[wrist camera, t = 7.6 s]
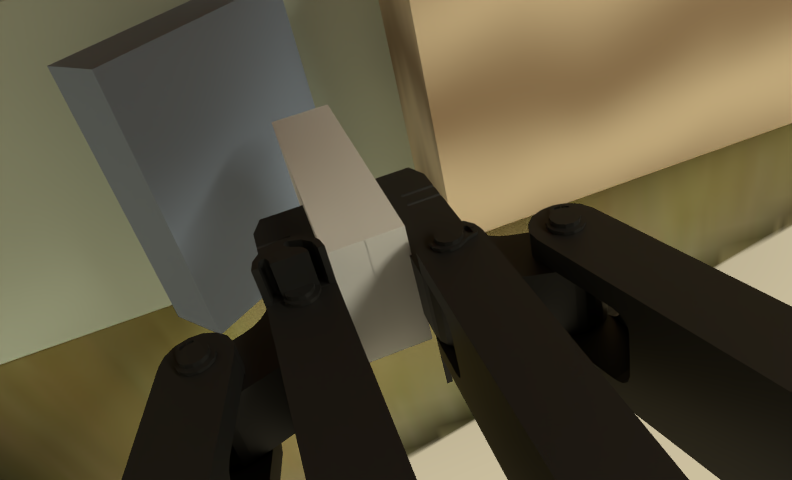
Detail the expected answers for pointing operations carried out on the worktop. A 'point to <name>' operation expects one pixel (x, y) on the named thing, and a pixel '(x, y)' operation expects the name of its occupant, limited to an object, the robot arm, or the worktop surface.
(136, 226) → the blue-grey flat block
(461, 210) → the tan block
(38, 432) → the worktop surface
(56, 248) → the rubber mat
